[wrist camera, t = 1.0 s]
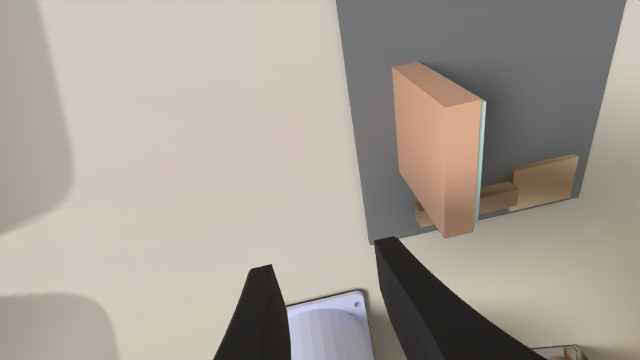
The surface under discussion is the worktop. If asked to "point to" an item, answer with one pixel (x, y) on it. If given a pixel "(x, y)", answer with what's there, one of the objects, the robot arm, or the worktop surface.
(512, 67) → the mat
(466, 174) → the tile
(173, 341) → the worktop surface
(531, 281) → the worktop surface
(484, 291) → the worktop surface
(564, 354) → the coffee box
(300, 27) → the worktop surface
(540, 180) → the tan stepped block
